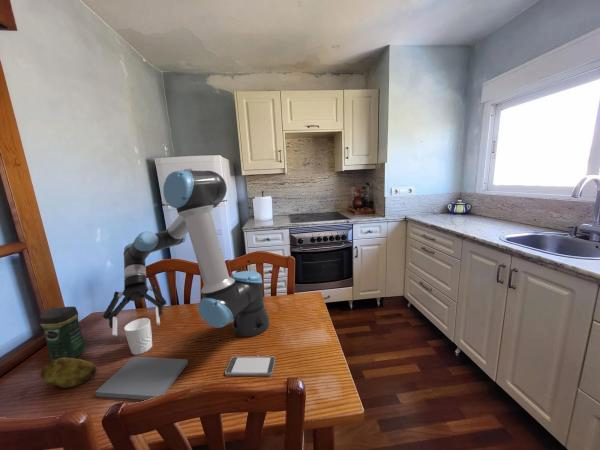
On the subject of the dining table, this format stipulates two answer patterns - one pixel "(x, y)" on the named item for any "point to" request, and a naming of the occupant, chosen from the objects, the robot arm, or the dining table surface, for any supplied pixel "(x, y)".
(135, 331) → the white cup
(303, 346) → the dining table surface
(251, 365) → the smartphone
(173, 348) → the dining table surface
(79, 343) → the coffee jar
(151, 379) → the grey board
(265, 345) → the dining table surface
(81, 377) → the potato
